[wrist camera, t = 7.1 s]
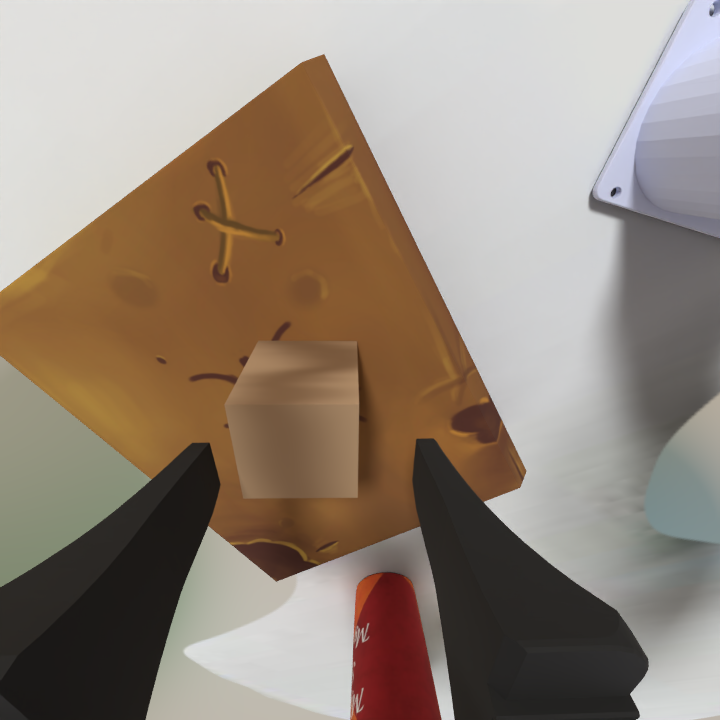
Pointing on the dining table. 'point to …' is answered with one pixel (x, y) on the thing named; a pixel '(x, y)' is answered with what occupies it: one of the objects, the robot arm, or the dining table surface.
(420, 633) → the paper cup
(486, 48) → the dining table surface
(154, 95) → the dining table surface
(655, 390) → the dining table surface
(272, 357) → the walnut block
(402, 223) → the diary
